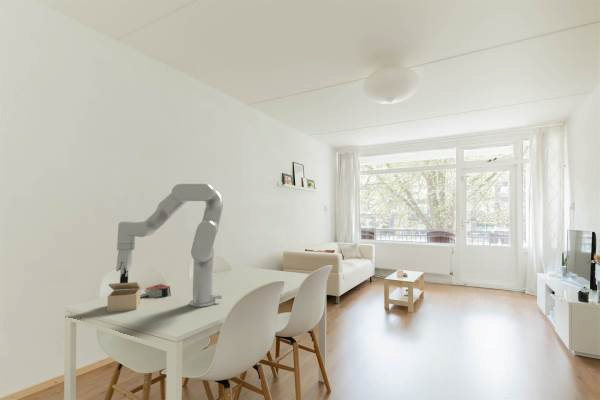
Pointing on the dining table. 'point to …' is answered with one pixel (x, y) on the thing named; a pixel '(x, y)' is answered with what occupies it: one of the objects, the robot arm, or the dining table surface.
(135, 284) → the lid
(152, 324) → the dining table surface
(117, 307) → the box
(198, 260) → the robot arm
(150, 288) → the tape dispenser
